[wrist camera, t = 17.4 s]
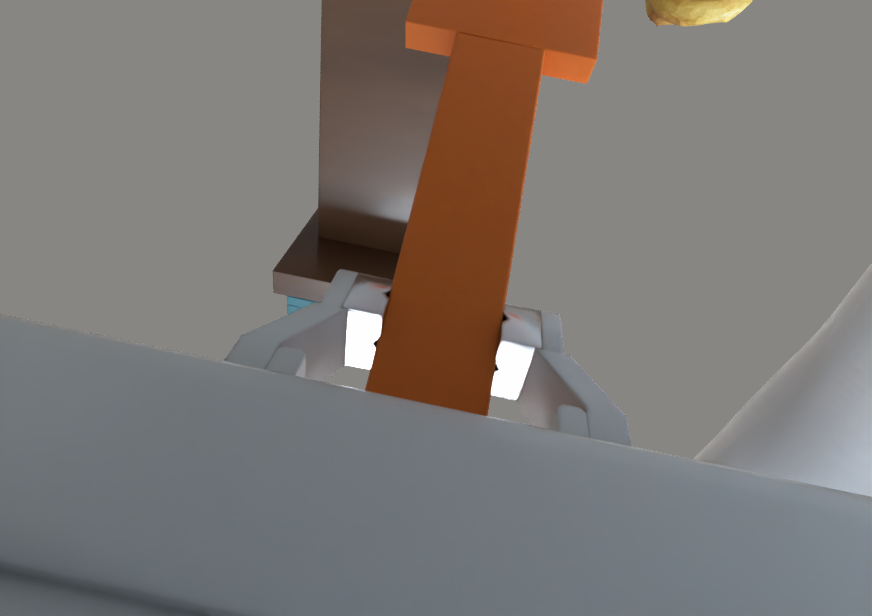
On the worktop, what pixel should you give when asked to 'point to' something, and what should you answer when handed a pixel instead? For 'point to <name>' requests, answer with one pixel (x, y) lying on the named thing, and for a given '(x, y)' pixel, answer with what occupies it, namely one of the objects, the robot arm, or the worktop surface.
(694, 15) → the bread roll
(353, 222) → the stand
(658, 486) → the robot arm
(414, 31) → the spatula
